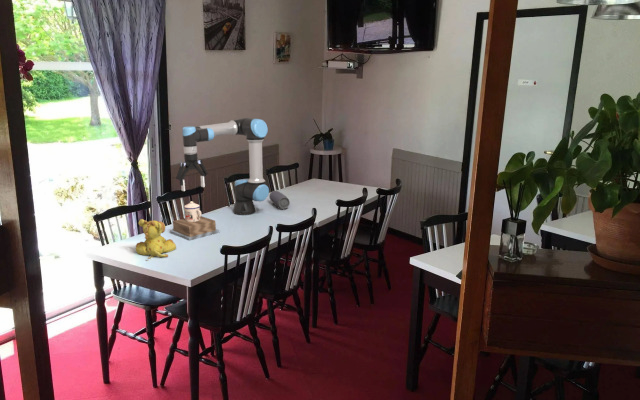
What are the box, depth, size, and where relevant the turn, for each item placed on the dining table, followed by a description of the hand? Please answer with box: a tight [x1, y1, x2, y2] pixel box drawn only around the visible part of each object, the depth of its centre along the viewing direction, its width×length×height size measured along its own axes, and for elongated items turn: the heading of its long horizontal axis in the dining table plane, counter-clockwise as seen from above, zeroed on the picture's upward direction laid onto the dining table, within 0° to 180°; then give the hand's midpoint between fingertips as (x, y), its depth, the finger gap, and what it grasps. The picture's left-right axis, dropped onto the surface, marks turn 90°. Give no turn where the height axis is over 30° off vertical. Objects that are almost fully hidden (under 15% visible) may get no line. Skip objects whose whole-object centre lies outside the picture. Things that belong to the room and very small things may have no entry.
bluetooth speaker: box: [268, 190, 291, 210], centre depth 373 cm, size 23×9×10 cm, turn 22°
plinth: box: [169, 215, 220, 242], centre depth 313 cm, size 21×21×8 cm
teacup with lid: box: [184, 201, 202, 222], centre depth 311 cm, size 12×9×12 cm
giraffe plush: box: [135, 218, 177, 262], centre depth 277 cm, size 20×24×19 cm
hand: (193, 188), depth 310 cm, fingers open, 13 cm apart
